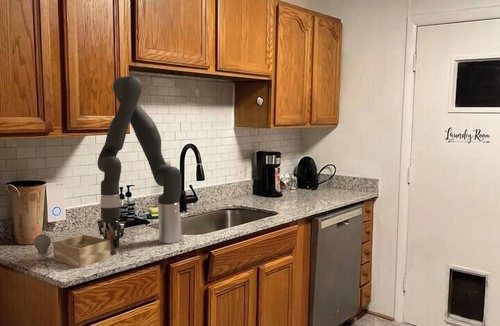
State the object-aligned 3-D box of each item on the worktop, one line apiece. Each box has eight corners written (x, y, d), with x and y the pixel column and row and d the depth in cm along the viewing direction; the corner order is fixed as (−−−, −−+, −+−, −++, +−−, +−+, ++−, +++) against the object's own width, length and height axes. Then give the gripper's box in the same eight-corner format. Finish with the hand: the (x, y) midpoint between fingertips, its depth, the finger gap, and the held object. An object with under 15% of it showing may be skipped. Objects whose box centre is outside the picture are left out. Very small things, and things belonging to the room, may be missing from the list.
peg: (112, 252, 195) (111, 228, 194) (118, 253, 193) (117, 229, 192) (105, 254, 192) (104, 229, 191) (111, 255, 190) (110, 230, 189)
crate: (84, 251, 196) (83, 234, 195) (110, 257, 187) (110, 240, 186) (54, 260, 184) (53, 242, 184) (80, 267, 176) (79, 248, 175)
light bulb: (48, 261, 182) (47, 236, 181) (32, 262, 182) (30, 236, 181) (53, 257, 188) (52, 232, 187) (37, 257, 188) (36, 232, 187)
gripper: (130, 205, 190) (131, 247, 192) (106, 201, 198) (107, 242, 199) (115, 208, 184) (116, 252, 185) (91, 204, 191) (92, 246, 193)
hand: (111, 246), depth 192 cm, fingers open, 5 cm apart
